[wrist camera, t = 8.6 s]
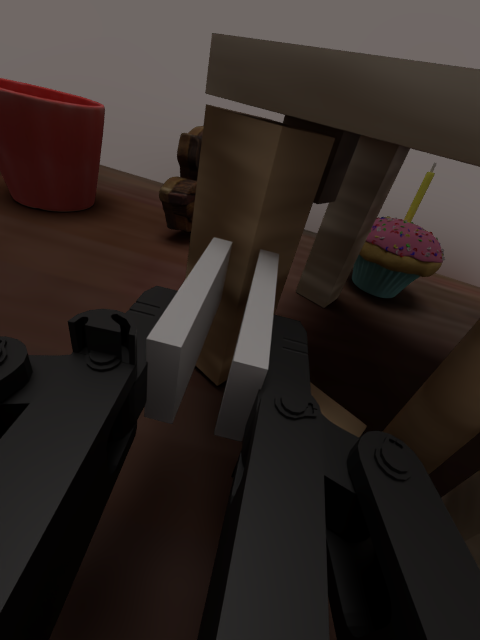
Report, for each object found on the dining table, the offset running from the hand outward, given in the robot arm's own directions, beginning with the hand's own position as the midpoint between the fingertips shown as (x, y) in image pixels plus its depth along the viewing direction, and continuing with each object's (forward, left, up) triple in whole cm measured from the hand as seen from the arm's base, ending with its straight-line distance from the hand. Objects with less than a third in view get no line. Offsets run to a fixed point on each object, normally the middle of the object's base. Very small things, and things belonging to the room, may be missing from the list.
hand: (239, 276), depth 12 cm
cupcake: (+23, -2, -7) cm, 24 cm away
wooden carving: (+17, +18, -7) cm, 26 cm away
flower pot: (+5, +29, -7) cm, 31 cm away
